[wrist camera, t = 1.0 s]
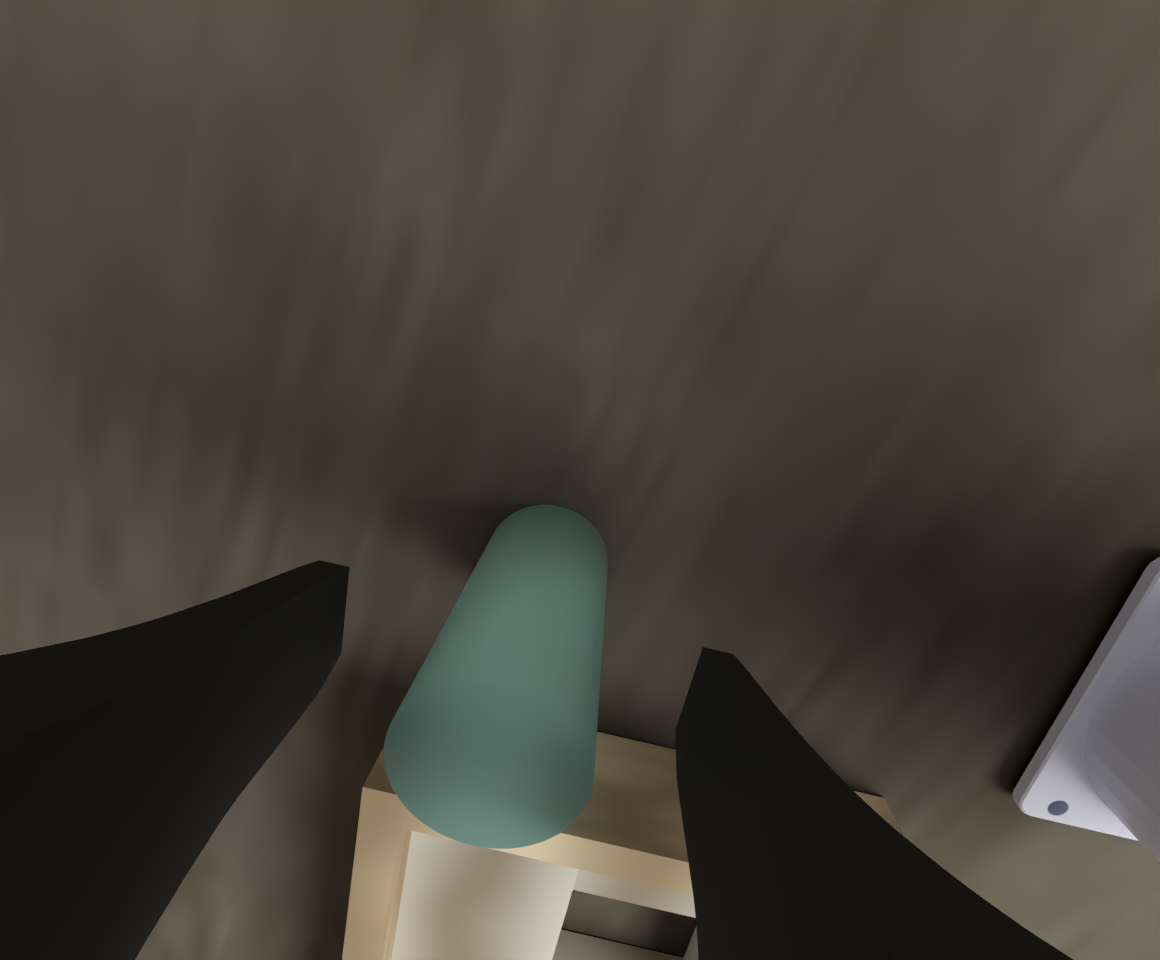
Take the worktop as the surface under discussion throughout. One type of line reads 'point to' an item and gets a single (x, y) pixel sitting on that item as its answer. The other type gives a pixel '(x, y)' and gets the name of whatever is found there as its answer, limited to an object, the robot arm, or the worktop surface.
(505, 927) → the bore tray
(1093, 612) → the worktop surface
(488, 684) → the peg
